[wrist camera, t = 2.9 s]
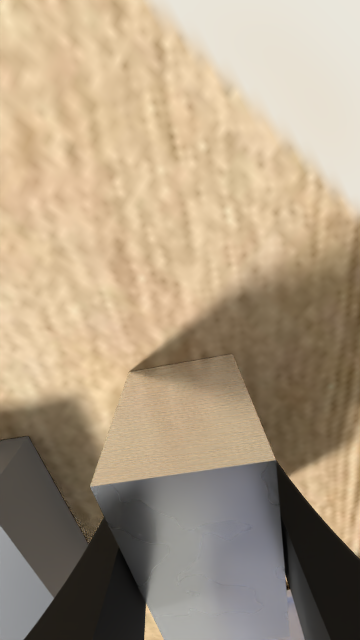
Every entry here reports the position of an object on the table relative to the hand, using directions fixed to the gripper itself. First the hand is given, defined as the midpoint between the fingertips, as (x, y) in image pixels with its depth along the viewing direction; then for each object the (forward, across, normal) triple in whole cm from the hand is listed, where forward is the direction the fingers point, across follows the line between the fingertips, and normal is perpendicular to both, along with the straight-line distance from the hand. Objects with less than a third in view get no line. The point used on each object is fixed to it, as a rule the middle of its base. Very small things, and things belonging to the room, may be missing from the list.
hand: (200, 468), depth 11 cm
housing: (+1, 0, 0) cm, 1 cm away
